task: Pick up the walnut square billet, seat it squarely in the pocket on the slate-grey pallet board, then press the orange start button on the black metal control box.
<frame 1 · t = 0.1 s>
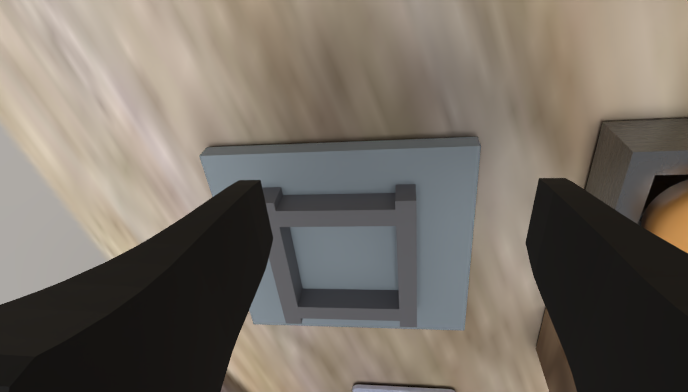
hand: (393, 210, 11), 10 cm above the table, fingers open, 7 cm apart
pallet board: (347, 241, 25), on the table
billet: (573, 330, 27), on the table
control box: (662, 185, 20), on the table
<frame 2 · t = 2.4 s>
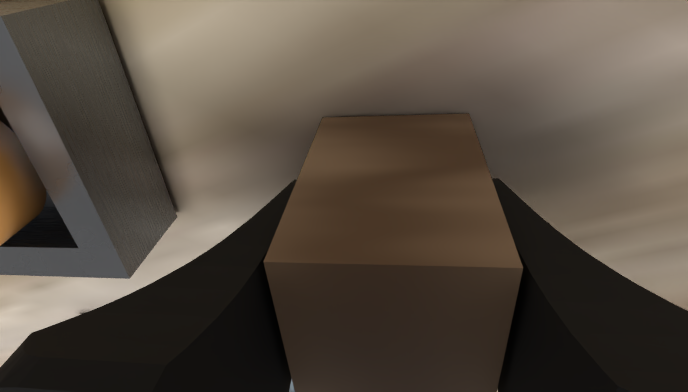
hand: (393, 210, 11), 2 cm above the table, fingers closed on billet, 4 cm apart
billet: (394, 178, 12), on the table, touching gripper
control box: (39, 125, 13), on the table
when the fingers open (4 cm above the table, at t = 6.0 s): billet drops 1 cm, resting on pallet board.
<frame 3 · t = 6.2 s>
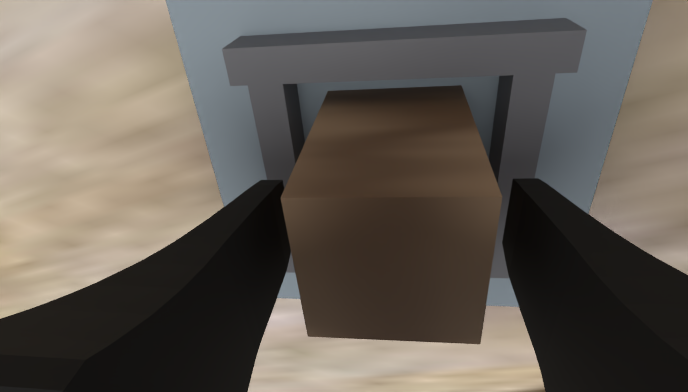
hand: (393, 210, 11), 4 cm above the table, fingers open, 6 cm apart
pallet board: (395, 141, 15), on the table
billet: (394, 147, 14), point 1 cm above the table, touching pallet board
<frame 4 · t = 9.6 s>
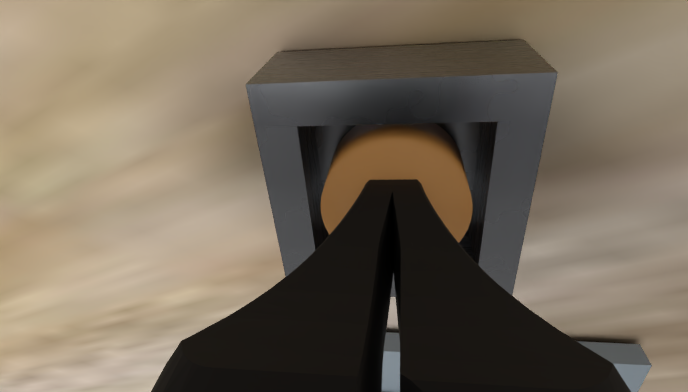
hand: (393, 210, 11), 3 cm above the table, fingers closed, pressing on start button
control box: (396, 154, 14), on the table
start button: (395, 192, 12), point 2 cm above the table, slide at 1.2 cm, touching gripper
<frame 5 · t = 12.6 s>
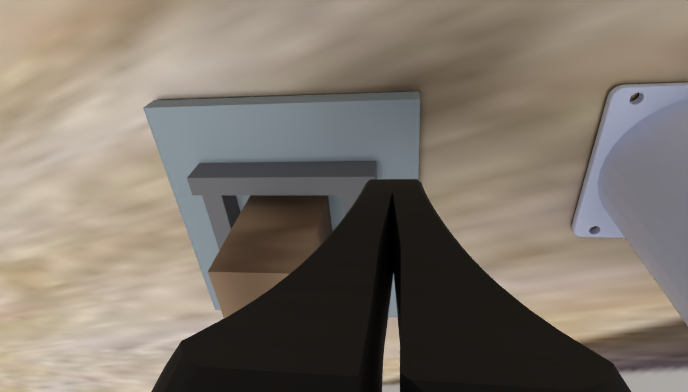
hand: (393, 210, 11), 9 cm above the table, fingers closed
pallet board: (300, 215, 23), on the table
billet: (295, 222, 22), point 1 cm above the table, touching pallet board
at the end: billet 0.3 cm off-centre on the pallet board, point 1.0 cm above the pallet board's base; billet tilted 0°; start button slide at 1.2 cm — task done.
